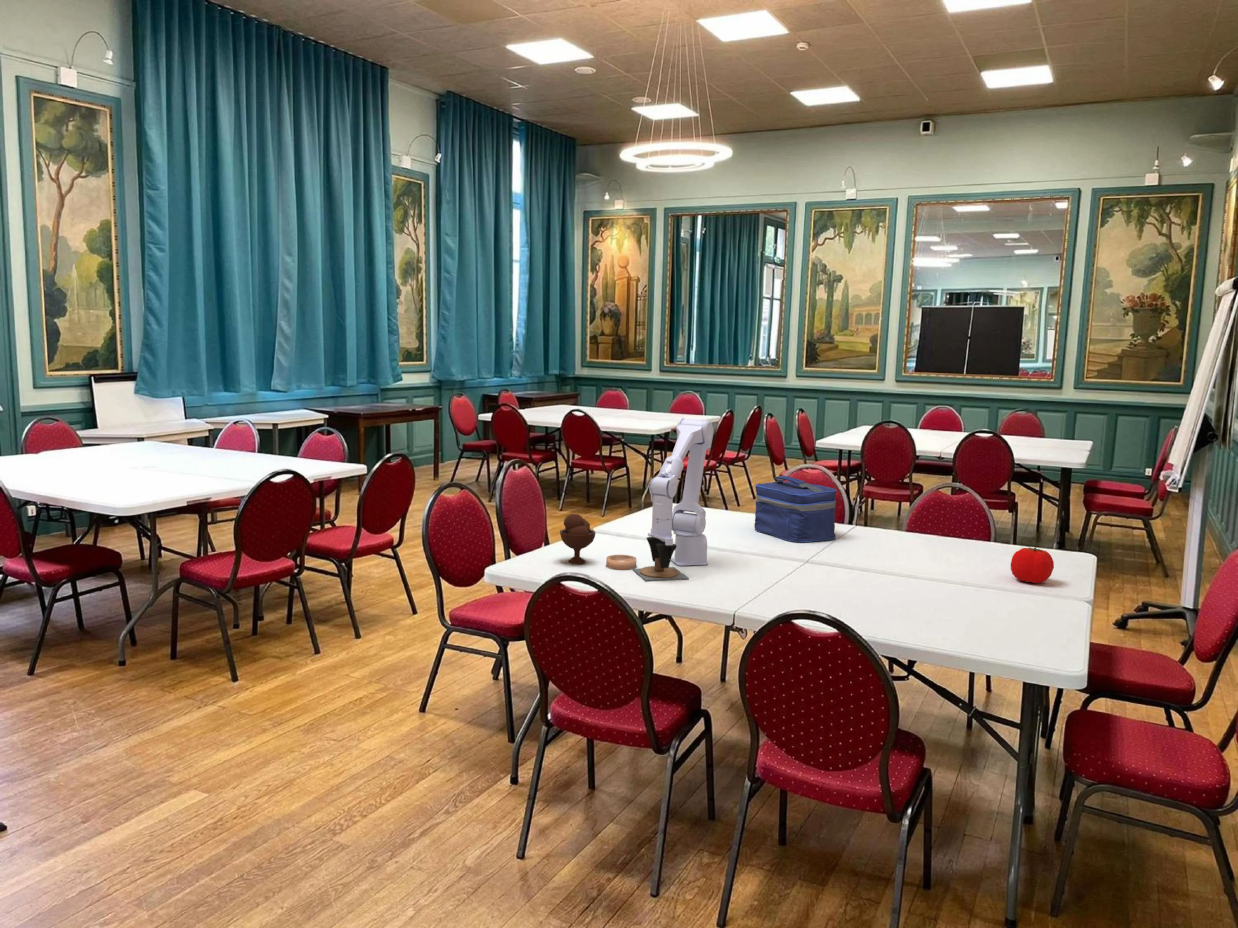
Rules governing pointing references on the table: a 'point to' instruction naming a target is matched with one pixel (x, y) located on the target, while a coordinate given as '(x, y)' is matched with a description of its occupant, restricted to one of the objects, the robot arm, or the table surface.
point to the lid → (658, 571)
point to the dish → (621, 562)
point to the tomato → (1032, 565)
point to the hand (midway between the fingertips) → (660, 564)
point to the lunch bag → (795, 510)
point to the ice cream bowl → (577, 536)
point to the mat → (678, 577)
